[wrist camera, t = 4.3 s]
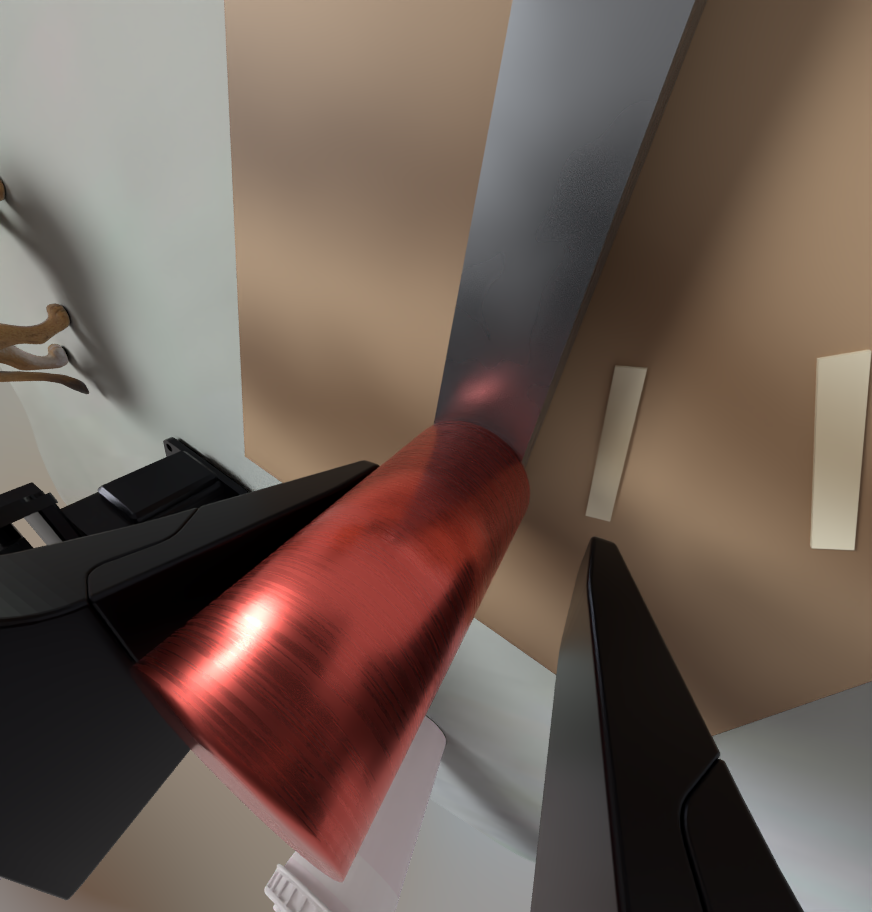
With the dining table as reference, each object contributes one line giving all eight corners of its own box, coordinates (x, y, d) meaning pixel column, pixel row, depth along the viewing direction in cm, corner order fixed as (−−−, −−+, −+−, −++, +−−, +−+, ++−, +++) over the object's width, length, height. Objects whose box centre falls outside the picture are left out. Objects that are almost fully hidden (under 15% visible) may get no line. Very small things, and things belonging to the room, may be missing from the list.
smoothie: (395, 678, 22) (155, 1078, 12) (483, 751, 21) (305, 1264, 11) (371, 706, 26) (174, 1021, 16) (443, 768, 25) (285, 1152, 15)
